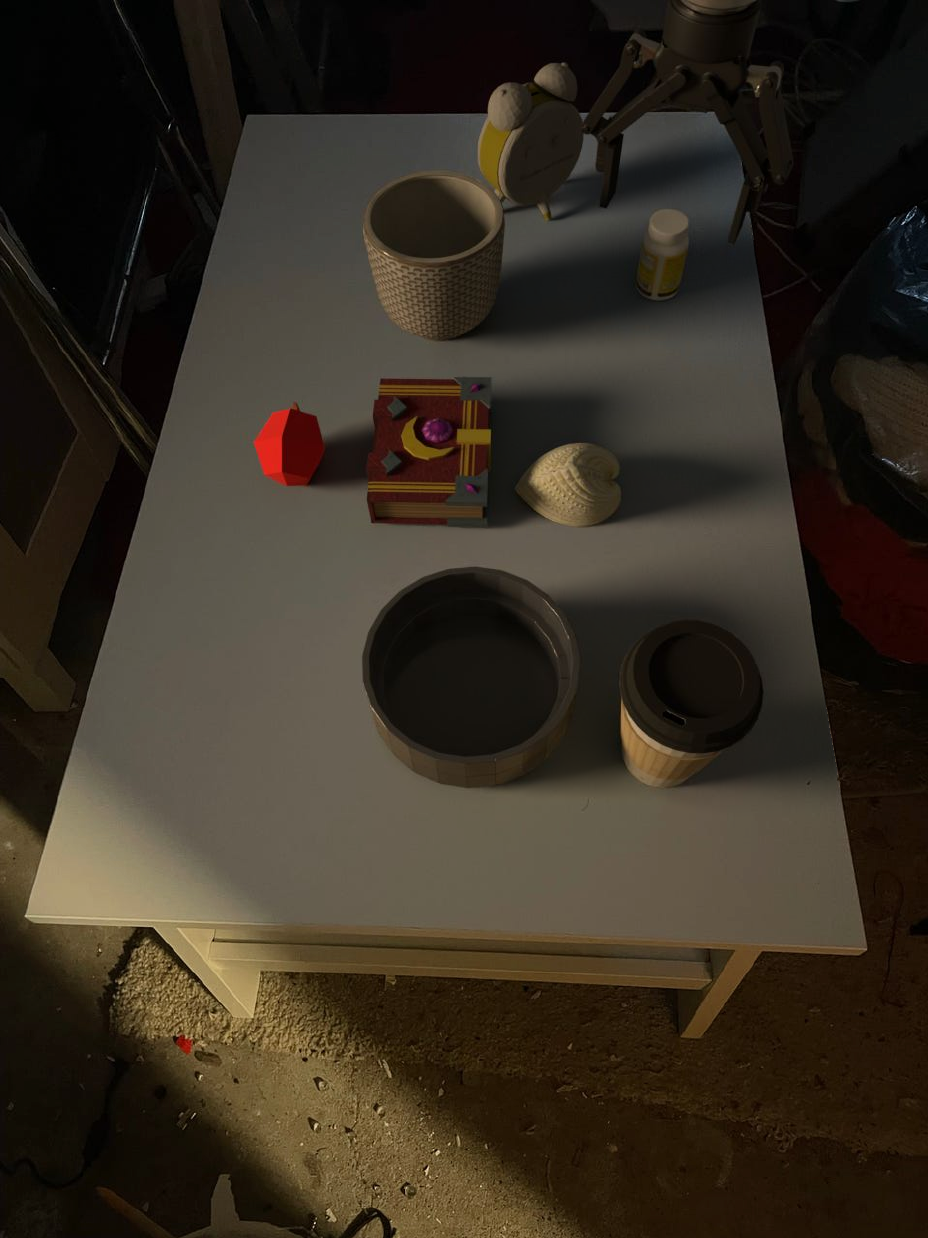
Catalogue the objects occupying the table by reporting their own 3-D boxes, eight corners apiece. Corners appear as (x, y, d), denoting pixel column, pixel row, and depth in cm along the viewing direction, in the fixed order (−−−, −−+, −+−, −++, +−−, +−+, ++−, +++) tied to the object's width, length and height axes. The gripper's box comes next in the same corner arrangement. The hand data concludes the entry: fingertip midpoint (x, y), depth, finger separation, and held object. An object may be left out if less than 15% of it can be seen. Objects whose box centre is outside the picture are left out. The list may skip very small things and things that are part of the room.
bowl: (602, 647, 78) (611, 611, 72) (524, 824, 71) (527, 800, 65) (426, 578, 82) (421, 539, 76) (335, 739, 74) (322, 709, 69)
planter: (525, 297, 99) (529, 192, 87) (466, 382, 93) (463, 281, 82) (415, 259, 102) (406, 154, 91) (353, 339, 96) (334, 237, 85)
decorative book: (368, 527, 85) (362, 496, 80) (383, 398, 92) (377, 363, 88) (488, 529, 84) (488, 498, 80) (492, 399, 92) (492, 364, 87)
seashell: (637, 520, 81) (567, 510, 77) (580, 536, 89) (513, 527, 85) (636, 434, 82) (566, 419, 78) (579, 457, 89) (513, 444, 85)
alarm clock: (554, 173, 109) (562, 44, 96) (588, 202, 106) (602, 74, 93) (475, 210, 106) (473, 83, 93) (509, 241, 103) (511, 115, 90)
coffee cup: (738, 730, 74) (792, 650, 61) (690, 832, 70) (736, 770, 57) (631, 677, 76) (659, 588, 63) (578, 772, 73) (597, 699, 59)
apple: (304, 475, 81) (316, 391, 82) (238, 474, 83) (250, 392, 84) (335, 497, 88) (346, 419, 88) (274, 494, 89) (284, 418, 90)
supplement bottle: (682, 276, 100) (697, 210, 92) (674, 305, 97) (689, 240, 90) (640, 268, 100) (651, 202, 93) (631, 297, 98) (642, 231, 91)
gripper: (557, -18, 74) (543, 207, 92) (858, 50, 68) (779, 274, 87) (590, -62, 77) (570, 164, 96) (881, 0, 71) (799, 227, 90)
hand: (669, 217), depth 91 cm, fingers open, 13 cm apart
